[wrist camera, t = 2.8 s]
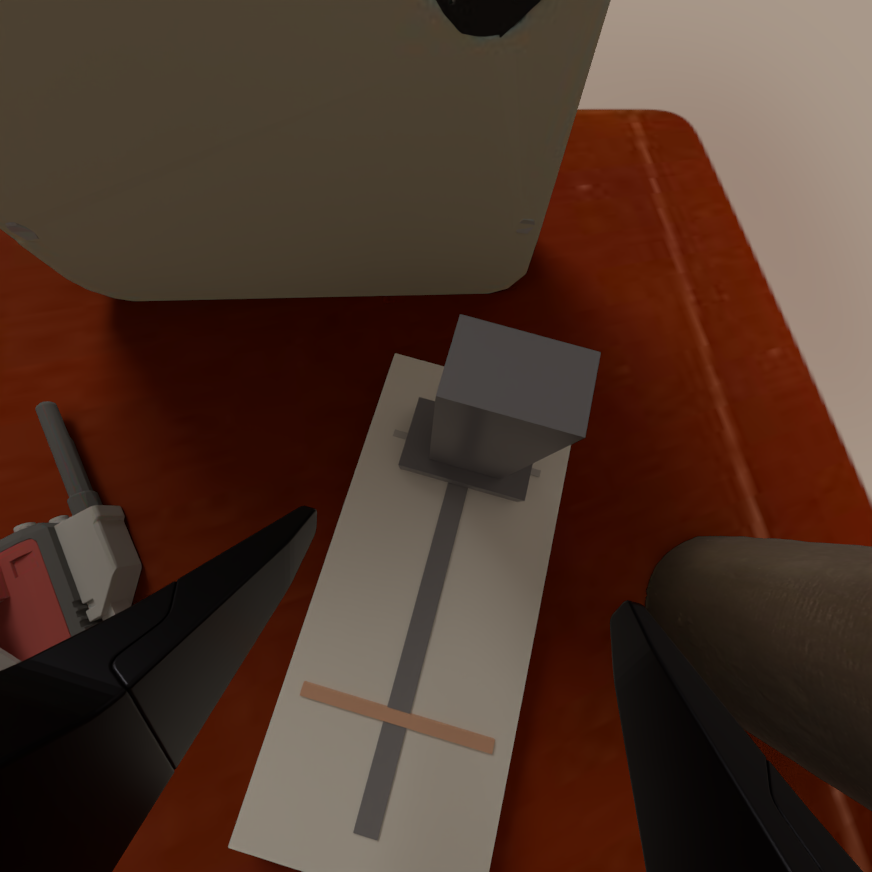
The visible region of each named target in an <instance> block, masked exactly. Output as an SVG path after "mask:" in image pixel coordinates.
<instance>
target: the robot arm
mask: <svg viewBox="0 0 872 872" xmlns="http://www.w3.org/2000/svg"><path fill="white" fill-rule="evenodd" d="M316 523H317V511H316V509H314V508H311V507H307V506H301V507H299V508H297V509H295V510H294V511H292V512H290V513H289V514H287V515H285V516H284V517H282V518H280V519H279V520H277V521H275V522H274V523H272V524H270V525H268V526H267V527H265V528H263V529H262V530H260V531H258V532H257V533H255V534H253V535H252V536H250V537H248V538H247V539H245V540H243V541H242V542H240V543H238V544H236V545H235V546H233V547H231V548H230V549H228V550H226V551H225V552H223V553H221V554H220V555H218V556H216V557H215V558H213V559H211V560H210V561H208V562H206V563H204V564H203V565H201V566H199V567H198V568H196V569H194V570H193V571H191V572H189V573H188V574H186V575H184V576H183V577H181V578H179V579H178V580H177V582H176V581H174V582H172V583H171V584H169V585H167V586H165V587H164V588H162V589H160V590H159V591H157V592H155V593H153V594H152V595H150V596H148V597H146V598H145V599H143V600H141V601H139V602H138V603H136V604H134V605H132V606H130V607H129V608H127V609H125V610H123V611H121V612H119V613H117V614H115V615H113V616H111V617H109V618H107V619H106V620H104V621H102V622H100V623H98V624H96V625H94V626H92V627H90V628H88V629H86V630H84V631H82V632H80V633H78V634H76V635H74V636H72V637H70V638H68V639H66V640H64V641H62V642H60V643H58V644H56V645H54V646H52V647H50V648H48V649H46V650H44V651H42V652H40V653H38V654H36V655H34V656H32V657H30V658H28V659H26V660H24V661H21V662H19V663H17V664H15V665H13V666H10V667H8V668H6V669H3V670H1V671H0V872H112V871H113V869H114V868H115V866H116V865H117V863H118V861H119V860H120V858H121V857H122V855H123V853H124V852H125V850H126V848H127V847H128V845H129V844H130V842H131V840H132V839H133V837H134V836H135V834H136V832H137V831H138V829H139V828H140V826H141V824H142V823H143V821H144V820H145V818H146V816H147V815H148V813H149V812H150V810H151V808H152V807H153V805H154V804H155V802H156V800H157V799H158V797H159V796H160V794H161V792H162V791H163V789H164V787H165V786H166V784H167V783H168V781H169V779H170V778H171V776H172V775H173V773H174V769H176V768H177V766H178V765H179V763H180V762H181V760H182V758H183V757H184V755H185V753H186V752H187V750H188V749H189V747H190V745H191V744H192V742H193V741H194V739H195V737H196V736H197V734H198V733H199V731H200V729H201V728H202V726H203V725H204V723H205V721H206V720H207V718H208V717H209V715H210V713H211V712H212V710H213V709H214V707H215V705H216V704H217V702H218V701H219V699H220V697H221V696H222V694H223V693H224V691H225V689H226V688H227V686H228V685H229V683H230V681H231V680H232V678H233V677H234V675H235V673H236V672H237V670H238V668H239V667H240V665H241V664H242V662H243V660H244V659H245V657H246V656H247V654H248V652H249V651H250V649H251V648H252V646H253V644H254V643H255V641H256V640H257V638H258V636H259V635H260V633H261V632H262V630H263V628H264V627H265V625H266V624H267V622H268V620H269V619H270V617H271V616H272V614H273V612H274V611H275V609H276V608H277V606H278V604H279V603H280V601H281V600H282V598H283V596H284V595H285V593H286V591H287V590H288V588H289V586H290V584H291V583H292V581H293V579H294V577H295V574H296V572H297V570H298V568H299V566H300V564H301V562H302V560H303V558H304V556H305V554H306V552H307V550H308V548H309V545H310V543H311V541H312V539H313V537H314V535H315V532H316ZM610 632H611V646H612V660H613V674H614V683H615V690H616V696H617V702H618V708H619V714H620V720H621V725H622V731H623V737H624V743H625V749H626V755H627V761H628V767H629V772H630V778H631V784H632V790H633V796H634V802H635V808H636V814H637V819H638V825H639V831H640V837H641V843H642V849H643V855H644V861H645V866H646V872H863V871H862V870H861V869H860V868H859V867H858V865H857V864H856V863H855V862H854V861H853V860H852V859H851V857H850V856H849V855H848V854H847V853H846V852H845V851H844V850H843V848H842V847H841V846H840V845H839V844H838V843H837V841H836V840H835V839H834V838H833V837H832V836H831V835H830V833H829V832H828V831H827V830H826V829H825V828H824V826H823V825H822V824H821V823H820V822H819V821H818V819H817V818H816V817H815V816H814V815H813V814H812V813H811V811H810V810H809V809H808V808H807V806H806V805H805V804H804V803H803V802H802V800H801V799H800V798H799V797H798V796H797V794H796V793H795V792H794V791H793V790H792V788H791V787H790V786H789V785H788V784H787V782H786V781H785V780H784V779H783V777H782V776H781V775H780V774H779V772H778V771H777V770H776V769H775V768H774V766H773V765H772V764H771V763H770V761H768V760H766V757H765V755H764V754H763V753H762V752H761V750H760V749H759V748H758V747H757V745H756V744H755V743H754V742H753V740H752V739H751V738H750V737H749V736H748V734H747V733H746V732H745V731H744V729H743V728H742V727H741V726H740V724H739V723H738V722H737V721H736V719H735V718H734V717H733V716H732V714H731V713H730V712H729V711H728V710H727V708H726V707H725V706H724V705H723V703H722V702H721V701H720V700H719V698H718V697H717V696H716V695H715V693H714V692H713V691H712V690H711V689H710V687H709V686H708V685H707V684H706V682H705V681H704V680H703V679H702V677H701V676H700V675H699V674H698V672H697V671H696V670H695V669H694V667H693V666H692V665H691V664H690V663H689V661H688V660H687V659H686V658H685V656H684V655H683V654H682V653H681V651H680V650H679V649H678V648H677V646H676V645H675V644H674V643H673V642H672V640H671V639H670V638H669V637H668V635H667V634H666V633H665V632H664V630H663V629H662V628H661V627H660V625H659V624H658V623H657V622H656V620H655V619H654V618H653V617H652V616H651V614H650V613H649V612H648V611H647V609H646V608H645V607H644V606H643V605H641V604H639V603H636V602H632V601H628V600H627V601H625V602H623V603H622V605H621V606H620V607H619V608H618V609H617V610H616V611H615V612H614V614H613V615H612V617H611V620H610Z"/></svg>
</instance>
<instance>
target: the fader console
mask: <svg viewBox="0 0 872 872" xmlns="http://www.w3.org/2000/svg"><path fill="white" fill-rule="evenodd" d="M443 370H444V366H440V365H437V364H433V363H429V362H426V361H422V360H419V359H415V358H411V357H408V356H404V355H400V354H397V353H395V354H394V357H393V360H392V363H391V366H390V369H389V372H388V375H387V378H386V381H385V384H384V387H383V390H382V393H381V396H380V399H379V402H378V405H377V407H376V410H375V413H374V416H373V419H372V422H371V425H370V428H369V431H368V434H367V437H366V440H365V443H364V446H363V449H362V452H361V455H360V458H359V461H358V464H357V467H356V470H355V473H354V476H353V479H352V481H351V484H350V487H349V490H348V493H347V496H346V499H345V502H344V505H343V508H342V511H341V514H340V517H339V520H338V523H337V526H336V529H335V532H334V535H333V538H332V541H331V544H330V547H329V550H328V553H327V556H326V558H325V561H324V564H323V567H322V570H321V573H320V576H319V579H318V582H317V585H316V588H315V591H314V594H313V597H312V600H311V603H310V606H309V609H308V612H307V615H306V618H305V621H304V624H303V627H302V630H301V632H300V635H299V638H298V641H297V644H296V647H295V650H294V653H293V656H292V659H291V662H290V665H289V668H288V671H287V674H286V677H285V680H284V683H283V686H282V689H281V692H280V695H279V698H278V701H277V704H276V706H275V709H274V712H273V715H272V718H271V721H270V724H269V727H268V730H267V733H266V736H265V739H264V742H263V745H262V748H261V751H260V754H259V757H258V760H257V763H256V766H255V769H254V772H253V775H252V778H251V781H250V783H249V786H248V789H247V792H246V795H245V798H244V801H243V804H242V807H241V810H240V813H239V816H238V819H237V822H236V825H235V828H234V831H233V834H232V837H231V840H230V843H229V846H228V848H231V849H234V850H237V851H240V852H243V853H246V854H249V855H253V856H256V857H259V858H262V859H265V860H268V861H271V862H274V863H277V864H281V865H284V866H287V867H290V868H293V869H296V870H299V871H302V872H489V870H490V864H491V859H492V854H493V849H494V844H495V838H496V833H497V828H498V823H499V817H500V812H501V807H502V802H503V797H504V791H505V786H506V781H507V776H508V771H509V765H510V760H511V755H512V750H513V745H514V739H515V734H516V729H517V724H518V719H519V713H520V708H521V703H522V698H523V693H524V687H525V682H526V677H527V672H528V666H529V661H530V656H531V651H532V646H533V640H534V635H535V630H536V625H537V620H538V614H539V609H540V604H541V599H542V594H543V588H544V583H545V578H546V573H547V568H548V562H549V557H550V552H551V547H552V542H553V536H554V531H555V526H556V521H557V515H558V510H559V505H560V500H561V495H562V489H563V484H564V479H565V474H566V469H567V463H568V458H569V453H570V448H571V445H569V446H567V447H565V448H563V449H561V450H559V451H557V452H555V453H553V454H551V455H549V456H547V457H545V458H543V459H541V460H539V461H537V462H535V463H533V465H532V470H531V474H530V479H529V484H528V488H527V493H526V497H525V501H521V502H515V501H512V500H508V499H505V498H501V497H498V496H494V495H491V494H487V493H484V492H480V491H477V490H473V489H470V488H466V487H463V486H459V485H456V484H452V483H449V482H445V481H442V480H438V479H435V478H431V477H428V476H424V475H421V474H417V473H414V472H410V471H407V470H403V469H400V468H399V465H398V464H399V461H400V457H401V454H402V451H403V448H404V444H405V441H406V438H407V435H408V431H409V428H410V425H411V422H412V419H413V415H414V412H415V409H416V406H417V402H418V399H419V397H421V398H425V399H428V400H432V401H435V398H436V393H437V390H438V386H439V383H440V380H441V376H442V373H443Z"/></svg>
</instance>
